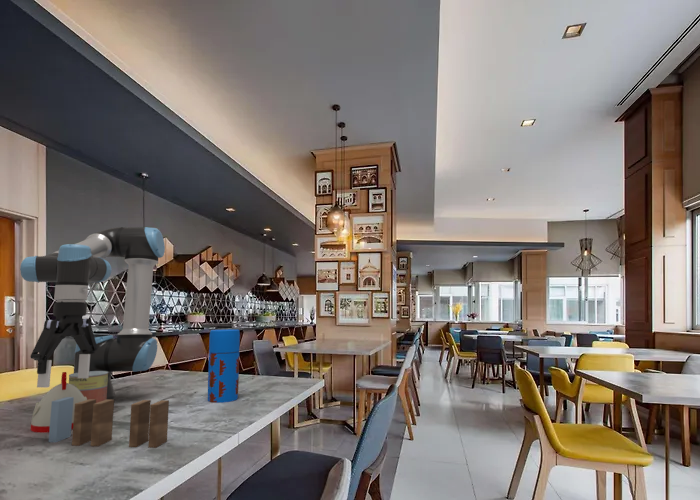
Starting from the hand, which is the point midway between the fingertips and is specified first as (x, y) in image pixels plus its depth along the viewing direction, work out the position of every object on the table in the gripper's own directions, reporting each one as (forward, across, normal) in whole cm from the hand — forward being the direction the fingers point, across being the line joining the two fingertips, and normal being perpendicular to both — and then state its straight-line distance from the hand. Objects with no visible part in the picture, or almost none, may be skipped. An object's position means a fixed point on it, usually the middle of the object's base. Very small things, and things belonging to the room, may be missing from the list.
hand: (64, 382), depth 111 cm
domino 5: (+14, -2, -28) cm, 31 cm away
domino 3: (+14, -2, -13) cm, 19 cm away
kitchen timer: (+14, +12, +10) cm, 21 cm away
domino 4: (+14, -2, -23) cm, 27 cm away
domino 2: (+14, -2, -8) cm, 16 cm away
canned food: (+14, +29, +15) cm, 36 cm away
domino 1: (+14, 0, 0) cm, 14 cm away
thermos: (+14, +48, -24) cm, 56 cm away
